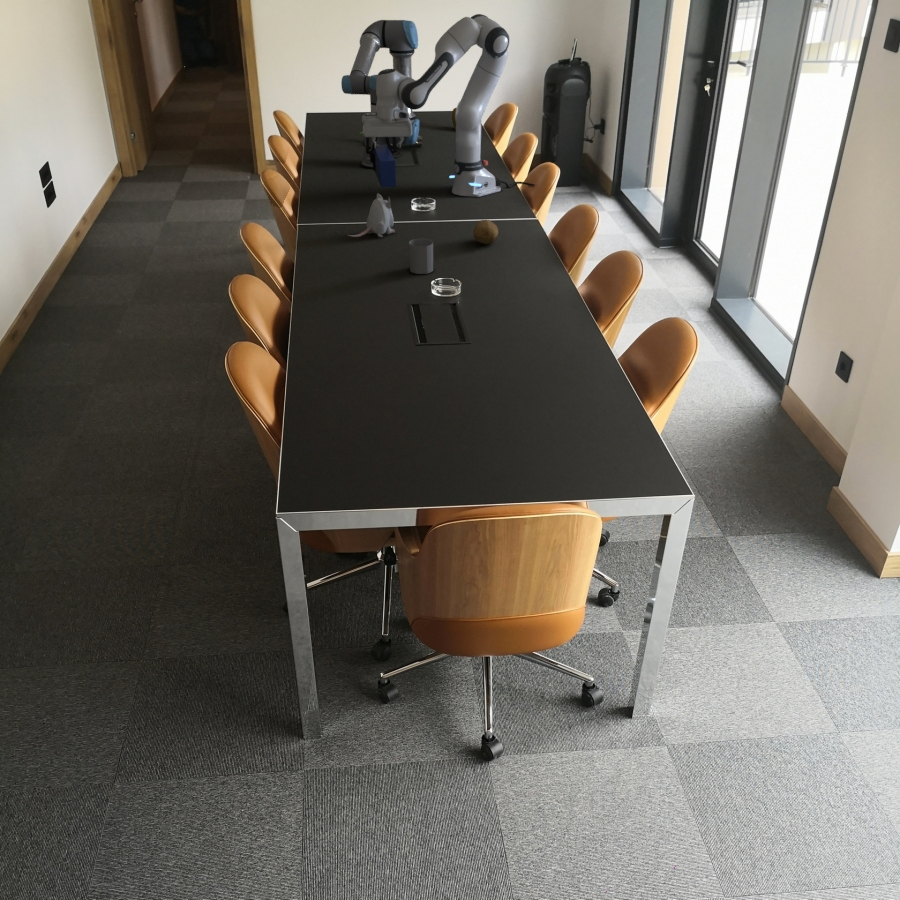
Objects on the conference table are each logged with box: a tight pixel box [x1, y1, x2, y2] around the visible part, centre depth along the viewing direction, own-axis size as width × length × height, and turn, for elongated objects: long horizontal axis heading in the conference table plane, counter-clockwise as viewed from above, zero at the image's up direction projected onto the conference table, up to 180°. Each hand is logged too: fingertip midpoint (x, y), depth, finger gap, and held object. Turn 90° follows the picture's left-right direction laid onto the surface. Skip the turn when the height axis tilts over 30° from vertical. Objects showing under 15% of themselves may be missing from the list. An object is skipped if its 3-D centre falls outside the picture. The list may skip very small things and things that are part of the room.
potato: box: [472, 219, 499, 245], centre depth 330 cm, size 10×14×8 cm
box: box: [373, 145, 397, 188], centre depth 372 cm, size 28×6×11 cm, turn 11°
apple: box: [451, 107, 457, 131], centre depth 487 cm, size 11×11×13 cm
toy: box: [347, 192, 396, 238], centre depth 333 cm, size 9×24×15 cm, turn 137°
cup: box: [408, 237, 434, 275], centre depth 305 cm, size 8×8×10 cm
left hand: (381, 169), depth 383 cm, fingers closed on box, 6 cm apart
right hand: (387, 147), depth 359 cm, fingers open, 8 cm apart
